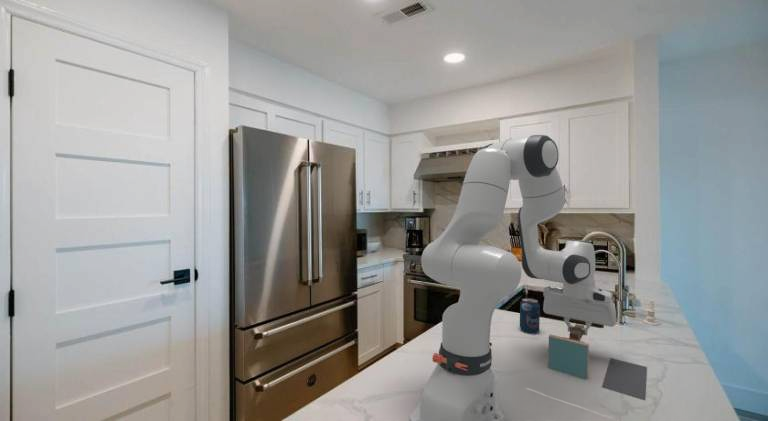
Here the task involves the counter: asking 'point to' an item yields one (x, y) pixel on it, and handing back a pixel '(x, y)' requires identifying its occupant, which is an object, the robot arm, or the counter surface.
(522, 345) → the counter surface
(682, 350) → the counter surface
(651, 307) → the chess piece
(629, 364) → the mat
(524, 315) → the soda can
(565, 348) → the tile
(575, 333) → the grey panel with knob
